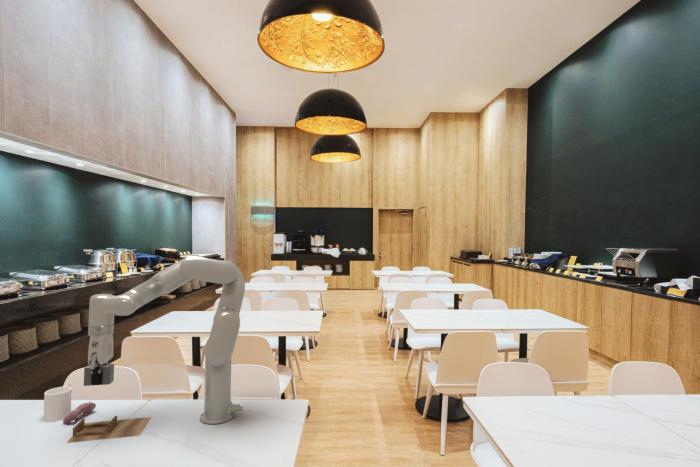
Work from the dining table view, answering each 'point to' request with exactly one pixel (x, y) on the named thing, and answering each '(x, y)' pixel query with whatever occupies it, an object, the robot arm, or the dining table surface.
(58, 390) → the cup
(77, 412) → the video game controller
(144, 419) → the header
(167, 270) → the robot arm
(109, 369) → the dark grey box
